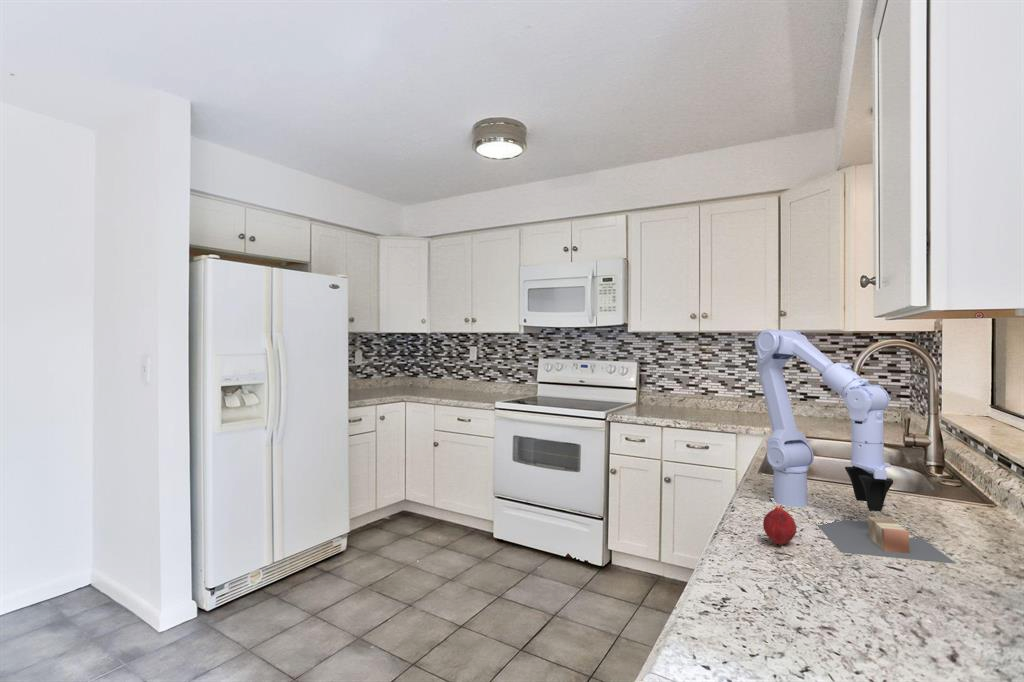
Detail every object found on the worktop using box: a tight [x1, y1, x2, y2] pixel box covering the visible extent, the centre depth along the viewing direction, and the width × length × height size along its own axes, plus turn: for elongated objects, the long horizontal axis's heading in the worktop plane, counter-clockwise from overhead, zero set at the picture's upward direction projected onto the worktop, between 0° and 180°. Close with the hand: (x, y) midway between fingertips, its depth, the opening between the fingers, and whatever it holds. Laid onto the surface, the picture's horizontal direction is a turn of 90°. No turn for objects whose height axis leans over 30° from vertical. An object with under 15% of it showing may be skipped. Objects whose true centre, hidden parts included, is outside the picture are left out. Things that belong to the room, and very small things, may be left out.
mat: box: [817, 518, 957, 565], centre depth 104 cm, size 22×18×1 cm
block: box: [867, 516, 909, 553], centre depth 100 cm, size 4×4×8 cm
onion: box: [762, 504, 797, 546], centre depth 101 cm, size 6×6×8 cm
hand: (868, 505), depth 110 cm, fingers open, 7 cm apart
